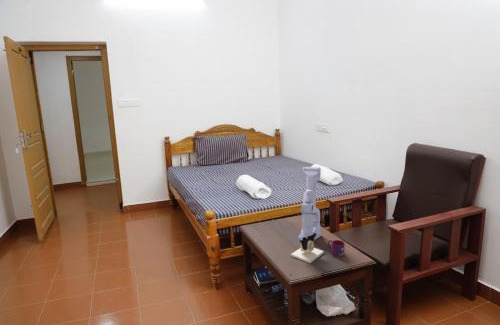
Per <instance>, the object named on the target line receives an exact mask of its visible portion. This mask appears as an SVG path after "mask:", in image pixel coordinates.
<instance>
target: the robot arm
mask: <svg viewBox="0 0 500 325" xmlns="http://www.w3.org/2000/svg"><path fill="white" fill-rule="evenodd" d="M321 171H322V170H321V167H320V166H318V167H317V166H314V167H313V166H312V167H311V166H303V168H302V177H303V179H304V180H306V181H305V182H306V184H305V185H306V190H305V191H304V192H303V198H302V200H303V201H302V203H301V206H300V207H301V208H300V212H301V217H302V218H301V220H302V223H301V226H302V229H301V230H300V234H299V235H298V236H297V237H298V240H299V242H300V245H301V244H302V248H303V250H307V245H308V241H309V240H311V241H313V242H314V241H316V240H317V239H319V238H320V237H321V236H322V234H321V227H322V226H321V223H320V222H321V211H320V209H319V208H317V206H316V203H317V202H316V201H317V200H316V198H317V190H316V189H317V182H318V181H320V180H321Z"/></svg>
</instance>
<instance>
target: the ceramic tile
mask: <svg viewBox="0 0 500 325" xmlns="http://www.w3.org/2000/svg"><path fill="white" fill-rule="evenodd" d="M324 253H325V251H324V250H321V249H320V248H316V247H313V250H312V251H311V252H310V253H306V252H303V251H301V247H300V248H298V249H296V250H295V251H294V252H291V253H290V256H291V257H292V258H295V259H297V260H301V261H303V262H306V263H308V264H311V263H312V262H314V261H315V260H316V259H319V257H320V256H322V255H323V254H324Z"/></svg>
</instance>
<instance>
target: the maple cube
mask: <svg viewBox="0 0 500 325" xmlns="http://www.w3.org/2000/svg"><path fill="white" fill-rule="evenodd" d="M300 248H301V251H303V252H306V253H310V252H311V251H312V250H313V248H314V241H311V240H309V241H308V245H307V250H303V248H302V244H301V243H300Z"/></svg>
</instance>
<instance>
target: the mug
mask: <svg viewBox="0 0 500 325" xmlns="http://www.w3.org/2000/svg"><path fill="white" fill-rule="evenodd" d="M330 242H331V244H330ZM345 245H346V244H345V242H344V241H342V240H341V239H335V240H331V239H330V240H328V242H327V246H328V248H329V249H330V250H331V255H332V256H333V257H334V258H342V257H344V256H345Z"/></svg>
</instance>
